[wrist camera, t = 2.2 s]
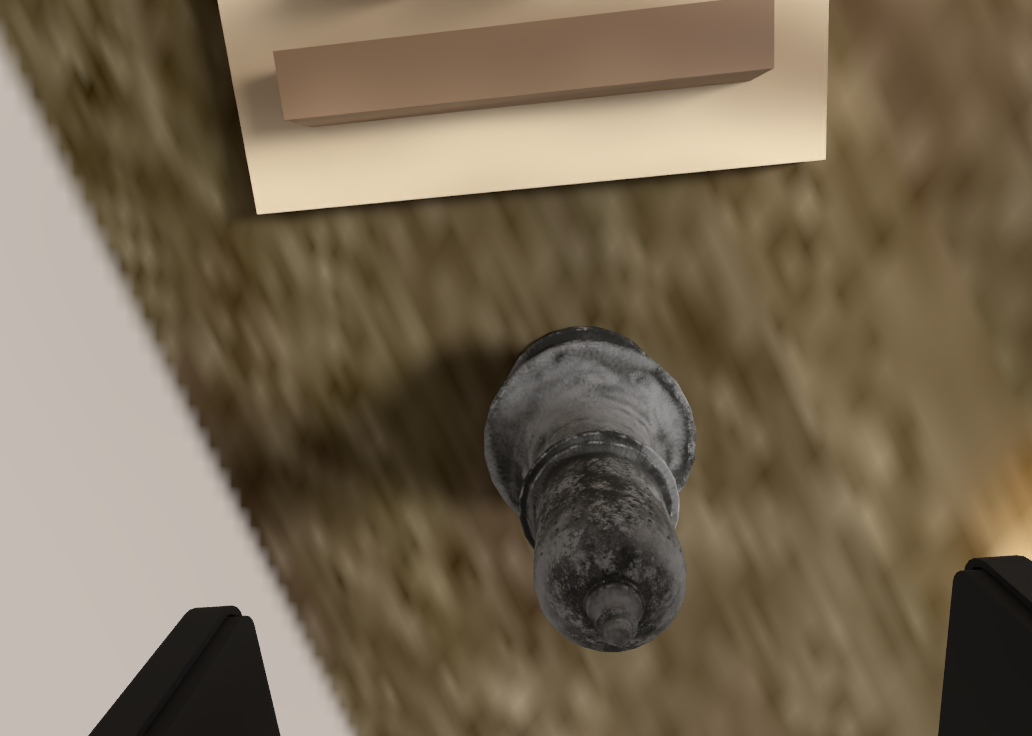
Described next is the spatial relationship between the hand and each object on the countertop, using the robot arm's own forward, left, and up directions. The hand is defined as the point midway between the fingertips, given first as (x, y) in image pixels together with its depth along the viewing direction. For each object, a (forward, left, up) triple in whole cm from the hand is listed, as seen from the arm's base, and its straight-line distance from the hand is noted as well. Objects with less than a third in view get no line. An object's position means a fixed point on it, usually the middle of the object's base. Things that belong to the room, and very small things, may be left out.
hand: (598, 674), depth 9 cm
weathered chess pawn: (-1, 0, -14) cm, 14 cm away
